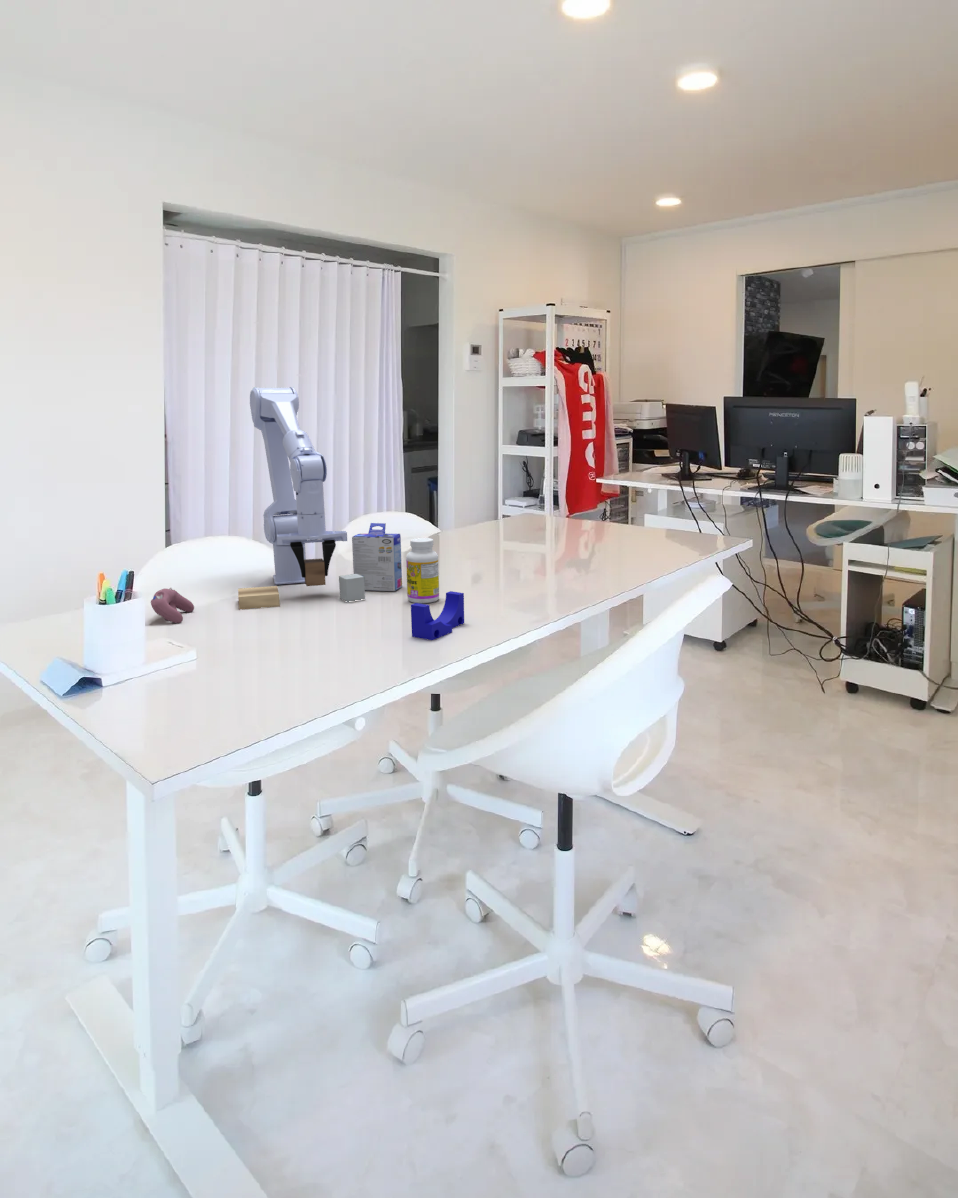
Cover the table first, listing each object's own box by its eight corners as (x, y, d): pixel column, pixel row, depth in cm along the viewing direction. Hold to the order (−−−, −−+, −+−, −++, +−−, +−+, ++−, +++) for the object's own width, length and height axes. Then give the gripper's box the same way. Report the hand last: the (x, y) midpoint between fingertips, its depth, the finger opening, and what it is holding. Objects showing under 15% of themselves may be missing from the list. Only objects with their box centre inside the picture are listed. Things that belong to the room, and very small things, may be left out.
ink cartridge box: (403, 586, 182) (401, 522, 179) (396, 592, 177) (393, 526, 173) (361, 585, 184) (358, 521, 181) (353, 590, 179) (350, 525, 175)
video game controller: (177, 618, 163) (158, 589, 162) (197, 608, 163) (178, 578, 162) (163, 632, 154) (142, 601, 152) (184, 621, 154) (163, 590, 152)
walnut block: (304, 582, 175) (303, 559, 174) (323, 580, 177) (322, 558, 175) (306, 586, 172) (305, 563, 170) (325, 584, 173) (324, 561, 172)
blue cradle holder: (432, 641, 141) (431, 608, 140) (411, 637, 144) (410, 604, 142) (470, 625, 151) (470, 594, 149) (451, 622, 153) (450, 591, 152)
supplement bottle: (403, 598, 171) (401, 538, 168) (432, 595, 174) (431, 536, 171) (413, 605, 165) (411, 543, 162) (443, 602, 168) (442, 540, 165)
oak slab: (239, 602, 171) (238, 588, 171) (278, 599, 174) (277, 585, 173) (239, 611, 164) (238, 597, 163) (280, 608, 166) (279, 594, 165)
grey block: (340, 598, 172) (338, 575, 171) (357, 596, 174) (356, 573, 173) (347, 602, 168) (346, 579, 167) (365, 600, 170) (364, 576, 169)
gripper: (276, 517, 165) (281, 582, 168) (347, 513, 169) (351, 577, 172) (274, 512, 171) (279, 575, 175) (343, 509, 175) (346, 570, 179)
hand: (314, 575), depth 174 cm, fingers closed on walnut block, 4 cm apart
